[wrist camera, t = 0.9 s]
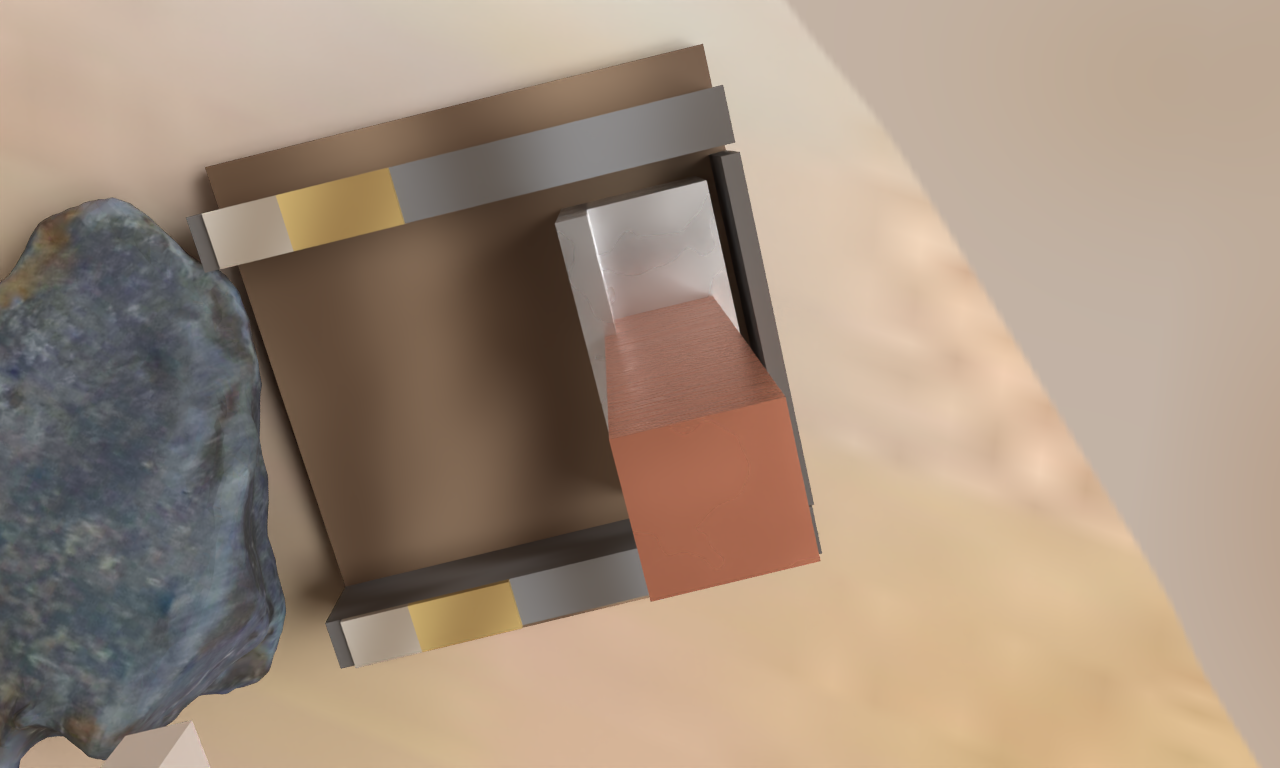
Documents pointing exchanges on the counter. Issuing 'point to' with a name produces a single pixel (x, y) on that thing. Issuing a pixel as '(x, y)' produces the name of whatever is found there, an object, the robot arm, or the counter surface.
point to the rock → (126, 486)
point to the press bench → (469, 341)
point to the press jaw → (684, 393)
